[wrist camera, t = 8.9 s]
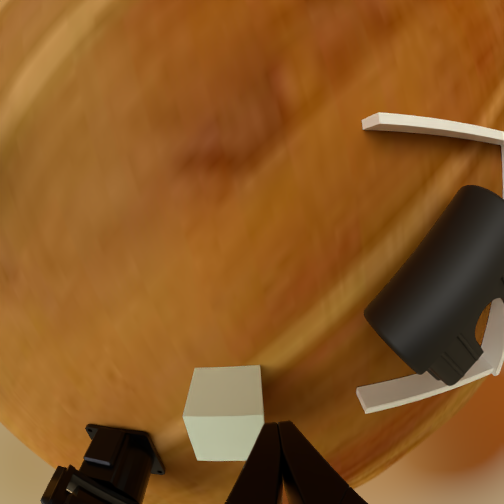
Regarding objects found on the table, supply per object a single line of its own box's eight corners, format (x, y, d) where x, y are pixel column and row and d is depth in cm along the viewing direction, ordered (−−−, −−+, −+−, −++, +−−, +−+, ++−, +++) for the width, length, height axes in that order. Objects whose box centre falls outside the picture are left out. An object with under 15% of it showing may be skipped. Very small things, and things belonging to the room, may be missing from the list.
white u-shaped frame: (481, 357, 20) (498, 374, 17) (356, 393, 20) (367, 418, 17) (504, 138, 16) (530, 137, 13) (361, 119, 16) (382, 110, 13)
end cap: (439, 179, 17) (509, 187, 10) (485, 246, 18) (546, 272, 11) (346, 295, 18) (388, 350, 12) (405, 347, 20) (449, 401, 13)
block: (263, 410, 21) (266, 459, 16) (205, 412, 21) (197, 460, 16) (260, 364, 20) (263, 414, 15) (195, 367, 20) (182, 416, 15)
